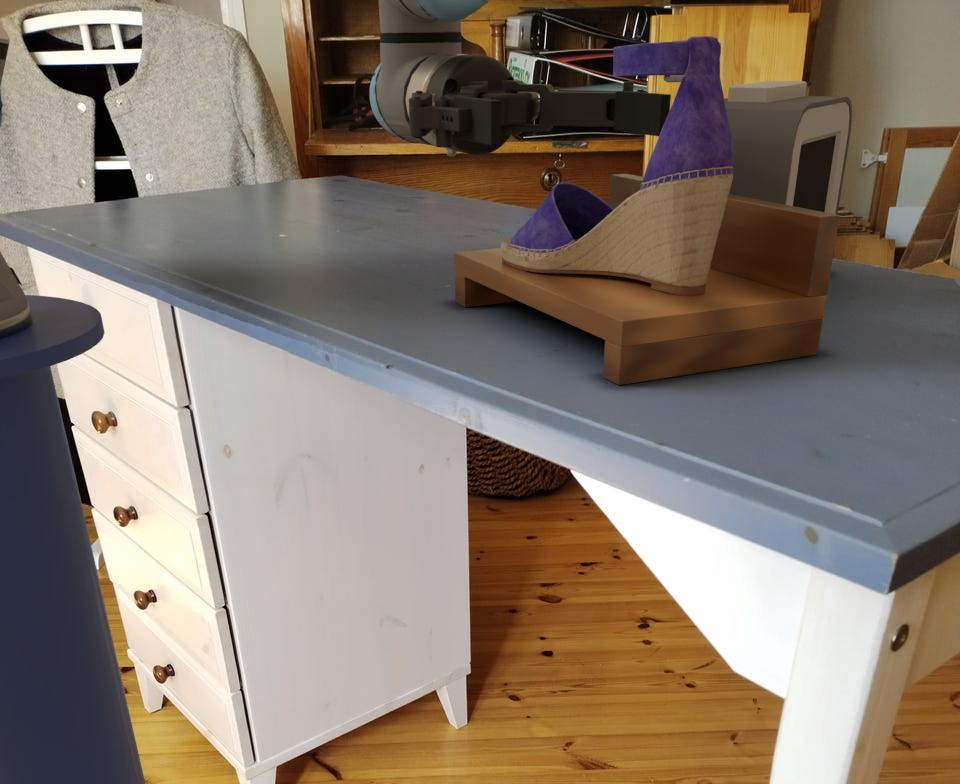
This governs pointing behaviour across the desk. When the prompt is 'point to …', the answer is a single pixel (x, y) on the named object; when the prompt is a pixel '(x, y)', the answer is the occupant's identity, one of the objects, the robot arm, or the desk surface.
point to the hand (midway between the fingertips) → (583, 119)
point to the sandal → (648, 187)
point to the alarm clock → (788, 144)
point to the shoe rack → (686, 319)
